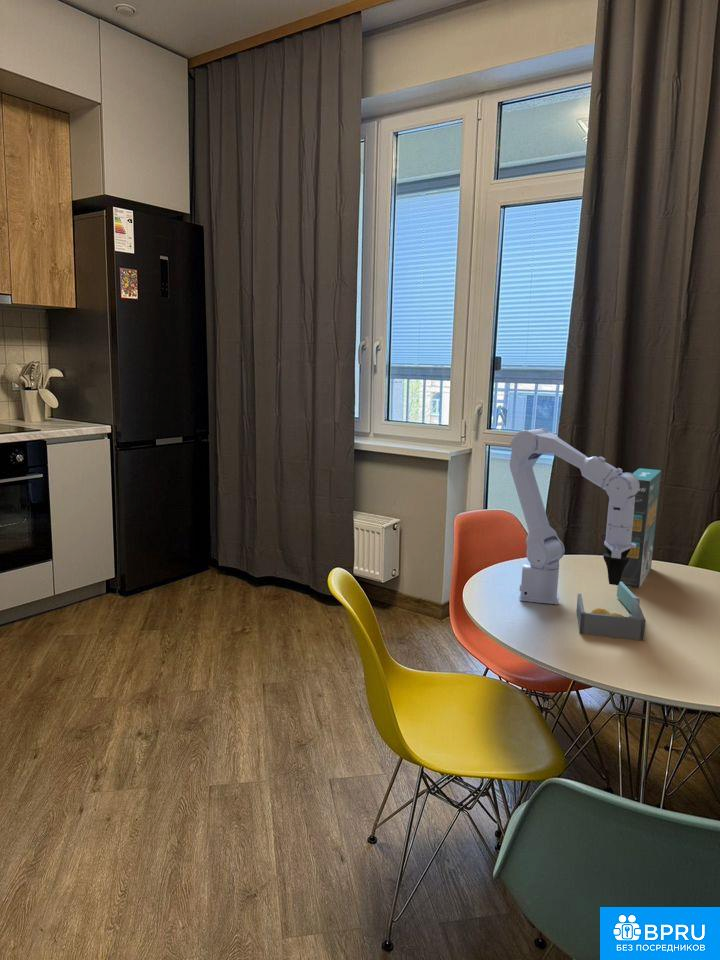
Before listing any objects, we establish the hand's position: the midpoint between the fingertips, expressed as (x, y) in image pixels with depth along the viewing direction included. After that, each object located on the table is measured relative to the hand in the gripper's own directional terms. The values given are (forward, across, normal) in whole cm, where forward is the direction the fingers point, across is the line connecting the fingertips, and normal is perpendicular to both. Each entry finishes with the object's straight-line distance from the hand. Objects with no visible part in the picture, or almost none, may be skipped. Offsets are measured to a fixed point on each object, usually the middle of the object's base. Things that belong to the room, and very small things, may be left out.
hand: (614, 579), depth 162 cm
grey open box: (+9, -5, 0) cm, 11 cm away
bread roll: (+10, -7, +1) cm, 12 cm away
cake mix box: (+10, +37, -4) cm, 39 cm away
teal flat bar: (+9, +9, -3) cm, 13 cm away
